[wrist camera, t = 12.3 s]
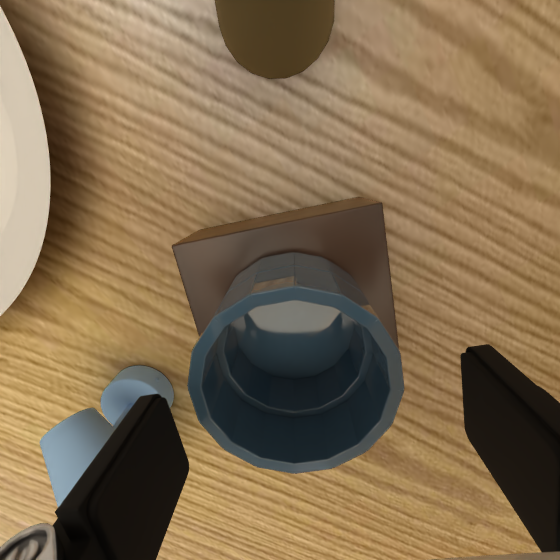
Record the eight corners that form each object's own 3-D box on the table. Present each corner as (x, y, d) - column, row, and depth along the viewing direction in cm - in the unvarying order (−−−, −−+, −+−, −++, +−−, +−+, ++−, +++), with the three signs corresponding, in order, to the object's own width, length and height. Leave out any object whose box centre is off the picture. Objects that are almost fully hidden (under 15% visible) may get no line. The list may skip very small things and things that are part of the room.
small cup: (356, 236, 15) (391, 267, 10) (376, 373, 17) (413, 458, 12) (203, 266, 16) (160, 310, 11) (239, 395, 18) (219, 484, 13)
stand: (360, 196, 20) (382, 202, 15) (379, 345, 22) (404, 390, 18) (198, 229, 20) (170, 245, 16) (237, 368, 23) (223, 418, 19)
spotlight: (205, 403, 24) (129, 344, 23) (150, 550, 15) (14, 463, 13) (165, 442, 25) (90, 388, 24) (90, 601, 16) (-41, 526, 15)
